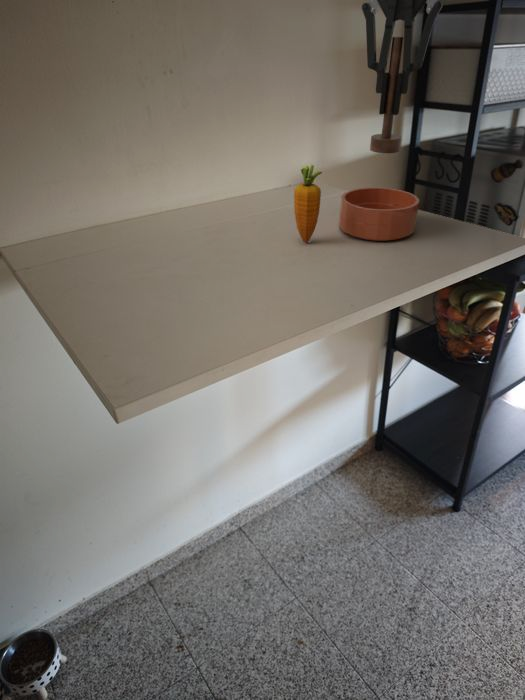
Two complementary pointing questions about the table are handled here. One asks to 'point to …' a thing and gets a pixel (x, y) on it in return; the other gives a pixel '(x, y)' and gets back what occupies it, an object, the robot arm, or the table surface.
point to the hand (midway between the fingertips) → (389, 113)
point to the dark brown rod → (389, 105)
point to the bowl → (378, 213)
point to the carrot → (307, 204)
